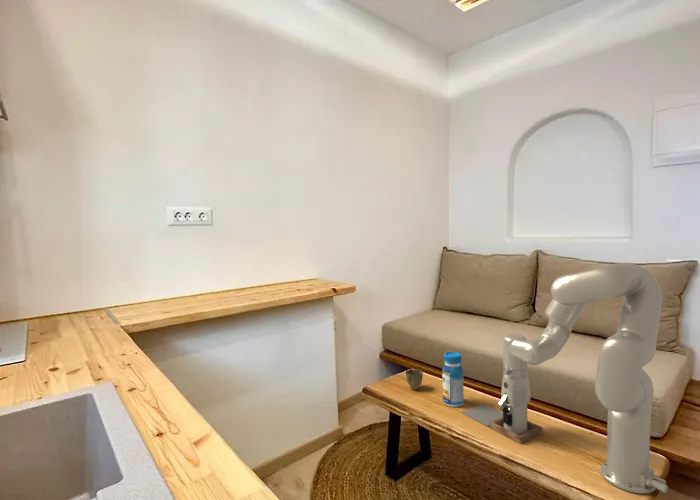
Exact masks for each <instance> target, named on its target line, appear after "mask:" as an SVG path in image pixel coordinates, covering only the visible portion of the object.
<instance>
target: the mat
mask: <svg viewBox="0 0 700 500" xmlns="http://www.w3.org/2000/svg"><path fill="white" fill-rule="evenodd" d="M461 414H462V415H463V416H466V417H468V418H470V419H472V420H473V421H475V422H477V423H479V424H481V425H484V426H485V427H486V428H488V427H490V422H492V421H494V420H497V419H499V418H501V417H503V412H502V411H500V410H497V409H495V408H492V407H491V406H488V405H486V404H484V403H482V404H479V405H476V406H474V407H471V408H469V409H467V410H464V411H461Z"/></svg>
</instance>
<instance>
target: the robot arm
mask: <svg viewBox="0 0 700 500" xmlns="http://www.w3.org/2000/svg"><path fill="white" fill-rule="evenodd" d="M550 292H551V293H550V294H551V296H552V300H551V301H550V302H549V303H548V306H547V307H546V309H545V311H544V314H545V316H546V317H547V319H548V323H547V326H546V327H545V328H544V330H543V331H542V333H541V335H540V336H539V337H535V338H533V339H530V340H527V338H526V336H524V335H522V334H517V333H508V334H505V335H504V337H503V341H502V342H503V343H502V348H503V351H502V352H503V353H502V355H503V358H502V359H503V362H502V363H503V367H502V368H503V369H502V370H503V372H502V373H503V374H502V381H501V382H502V383H501V393H500V395H501V399H500V401H499V402H498V403H497V405H498V408H499V409H500V411H501V413H503V423H505V424H507V425H509V426H512V414H511V411H512V408H516V407H518V405H519V404H520V403H521V402H520V401H522V400H524V399H525V400H524V401H525V402H527V408H529V402H530V401H531V396H532V392H531V385H530V377H529V374H528V365H530V366H538V365H541V364H543V363H545V362H547V361H548V360H549V361H550V360H551V359H555V357H556V356H557V355H558V354H559V353H560V352H561V351H562V349H563V348H564V346H565V345H566V343H567V342H568V340H569V338H570V336H571V334H572V330H573V326H574V324H575V323H576V321H577V320H578V318H579V317H580V315H581V314H582V312H583V311H584V310H585V308H586V307H587V305H588V304H589V303H592V302H593V303H594V302H599V301H604V300H605V301H606V300H609V299H610V300H612V299H615V298H619V297H623V302H622V305H621V307H620V311H619V320H618V326H617V329H616V332H615V333H614V334H612V335H611V336H608V338H606V339H605V340H604V341H603V343H602V345H601V347H600V350H599V353H598V358H597V359H598V360H597V365H596V366H597V367H596V375H595V380H594V391H595V395H596V398H597V399H598V401H599V403H600V404H601V405H602V407H604V408H606V409H607V429H606V430H607V432H606V433H607V434H606V436H607V437H606V438H607V440H606V444H607V445H606V456H607V457H606V458H607V459H606V461H605V462H604V463H602V464H601V466H600V470H599V471H600V474H601V476H602V477H603V478H604V479H605V480H606V481H607V482H608V483H609V484H611V485H613V486H615V487H617V488H618V489H621V490H623V491H627V492H630V493H633V494H634V493H635V494H642V495H644V494H651V493H653V492H655V491H656V490H658V491H660V492H662V493H664V494H667V492H668V489H669V487H668V485H667V481H666V480H665V479H662V478H661V477H658V476H656V474H655V473H654V471H655V469H654V468H653V467H651V466H650V459H651V458H650V454H651V453H650V452H651V451H650V449H651V448H650V445H651V440H650V439H651V419H652V418H651V415H652V405H653V400H654V384H653V381H652V379H651V377H650V375H649V374H648V373H647V372H646V371H645V370H643V368H644V367H645V366H646V365H647V364H649V363H651V361H652V360H653V359H654V357H655V355H656V349H657V342H658V341H657V340H658V335H659V334H658V333H659V330H660V329H659V328H660V321H661V314H662V313H661V312H662V305H663V304H662V303H663V293H662V289H661V285H660V283H659V282H658V280H657V278H656V276H654V275H653V274H652V273H651V272H650V271H649V270H647V269H646V268H644V267H643V266H640V265H638V264H636V263H631V262H617V263H613V264H609V265H604V266H600V267H596V268H593V269H592V268H591V269H587V270H583V271H579V272H572V273H569V274H562V275H560V276H558V277H557V278H556V279H554V280H553V282H552V284H551V287H550ZM507 401H508V403H509V404H507V403H506V402H507ZM506 405H507V406H509V409H507V408H506Z"/></svg>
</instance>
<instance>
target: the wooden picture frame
mask: <svg viewBox="0 0 700 500" xmlns="http://www.w3.org/2000/svg"><path fill="white" fill-rule="evenodd" d="M502 425H503V426H502ZM489 428H490V429H491V430H493V432H494V431H495V432H496V433H498V434H501V435H503V436H504V437H506V438H508V439H509V440H512V441H514V442H516V443H518V444H523V443H524V442H527V441H529V440H531V439H533V438H535V437H537V436H539V435H541V434H543V427H542V426H541V425H538V424H536V423H535V422H532V421H529V420H528V419H527V429H529V430H527V431H526V432H525V433H524V434H521V435H517V434H515V433H513V432H511V431H509V430H507V429H505V428H504V423H503V417H501V418H499V419H497V420H494V421H492V422H490V426H489Z"/></svg>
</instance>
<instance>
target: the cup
mask: <svg viewBox="0 0 700 500" xmlns="http://www.w3.org/2000/svg"><path fill="white" fill-rule="evenodd" d="M422 370H423V369H419V368H417V369H416V368H414V369H413V368H409V369H407V370H405V375H406V377H405V378H406V383H407V384H408V385H409V386H410V389H411V390H412V391H417V390H419V388H420V386H421V384H422V382H423V375H424V371H422Z"/></svg>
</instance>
